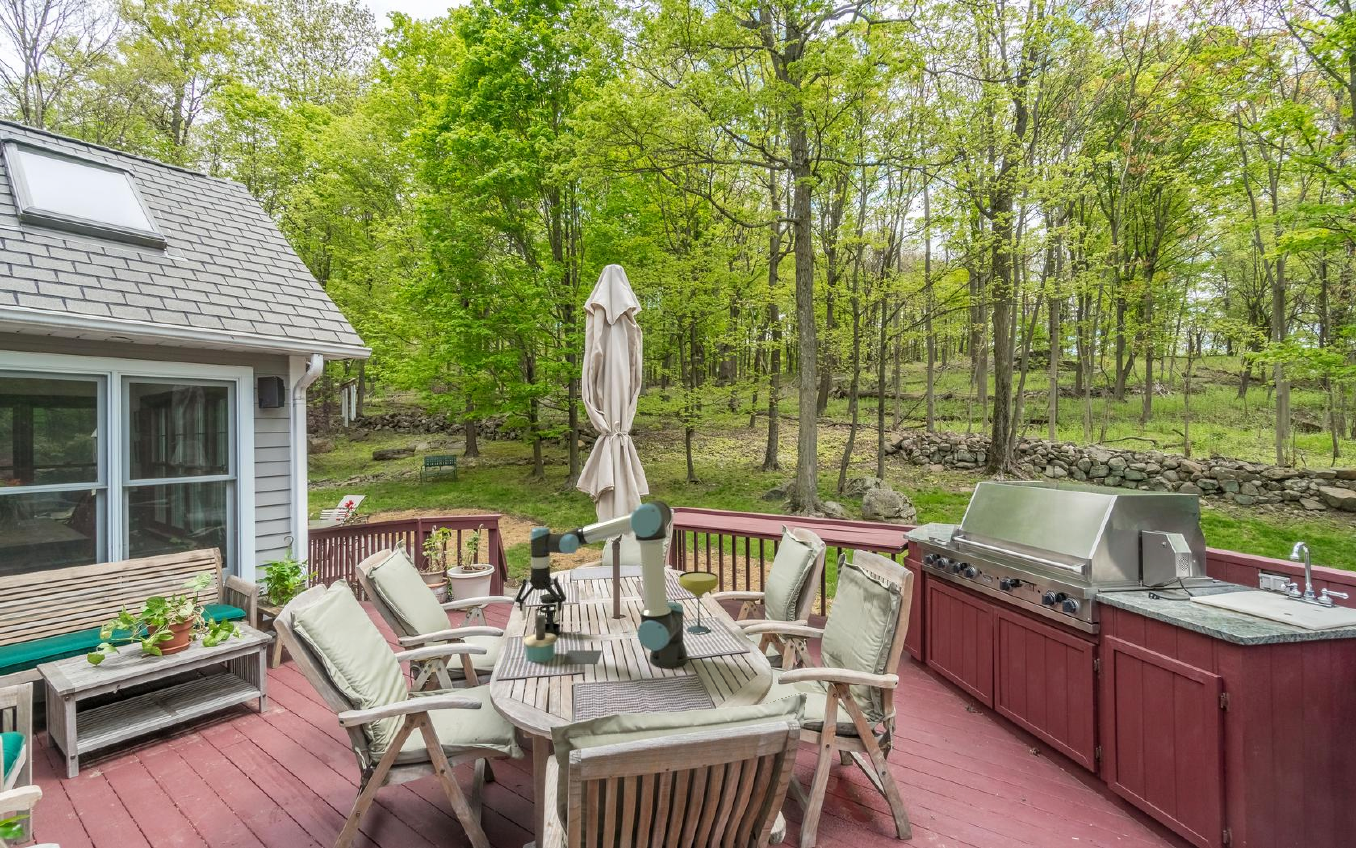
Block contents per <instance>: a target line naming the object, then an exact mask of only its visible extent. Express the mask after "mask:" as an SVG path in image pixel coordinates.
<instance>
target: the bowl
mask: <svg viewBox="0 0 1356 848" xmlns="http://www.w3.org/2000/svg"><path fill="white" fill-rule="evenodd" d="M555 646H556V642H555V643H554V644H552V645H549V646H544V647H530V646H527V645H525V658H526V661H527V662H530V663H537V664H539V663H545V662H548V661H551V660H553V659H554V658H555V653H556V652H555V649H556V647H555Z"/></svg>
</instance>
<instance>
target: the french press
mask: <svg viewBox="0 0 1356 848" xmlns="http://www.w3.org/2000/svg"><path fill="white" fill-rule="evenodd" d="M550 586H551V587H552V586H555V585H554V584H553V583H552V582H550ZM558 596H559V597H560V595H559V594H558ZM560 598H561V597H560ZM539 599H540V603H541V604H544V605H541V606H540V607H539V608H535V609H534V610H535V613H534V615H535V616H534V618H535V627H534V628H535V629H536V616H537V615H538V614H537V613H538V612H537V611H539V615H542V614H546V616H545V633H551V634H554V635H556V636H560V635H561V611H559V619H558V620H556V616H554V613H555V614H556V603H557V601H556V600H555V599H554V597H553V596H552V595H551V594H550V593H546V594H542V595H540V596H539ZM551 608H555V609H551Z"/></svg>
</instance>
